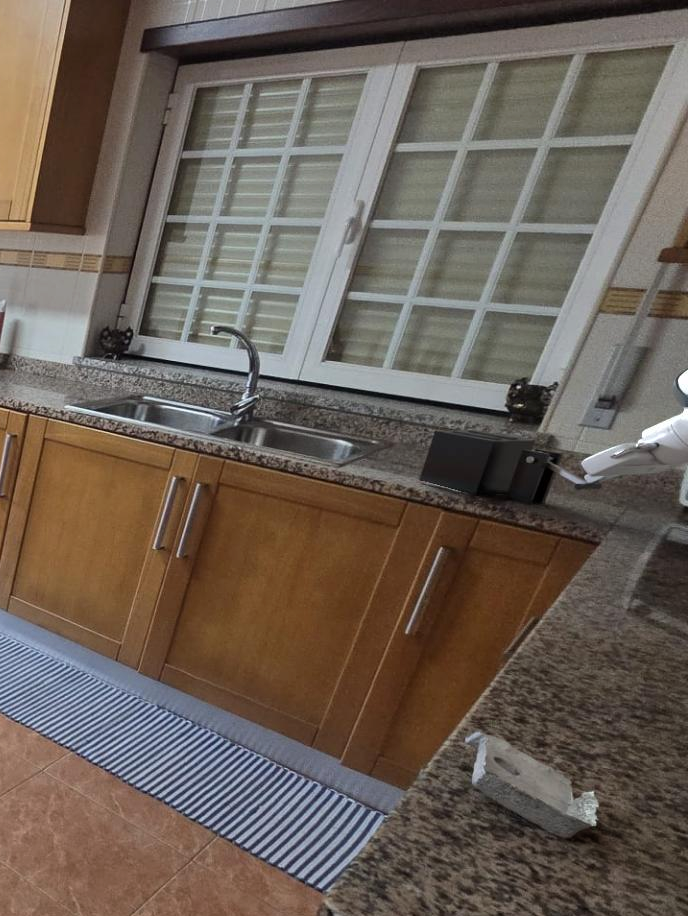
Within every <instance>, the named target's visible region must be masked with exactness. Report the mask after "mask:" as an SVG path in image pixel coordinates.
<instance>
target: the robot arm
mask: <svg viewBox="0 0 688 916" xmlns="http://www.w3.org/2000/svg"><path fill="white" fill-rule="evenodd" d="M672 394H673V397H674V399H675V400H676V402H677V403H678V404H679V405H680V406H681V407H682V408H683V412H681V413H680V414H677V415H674V416H672V417H670V418H668V419H666V420H663V421H660V422H659V423H657V424H654V425H653V426H650V427H648V428H646V429H644V430H643V431H642V434H641V439H638V441H637V442H625V443H621V444H618V445H615V446H613V447H610V448H608V449H606V450H603V451H600V452H598V453H595V454H594V455H593V454H592V455H591V456H589V457H586V458H585V459H583V460H582V461H581V462H580V465H581V467H582V468H583V469H584V471H585V472H586V474H585V475H584V477H583V478H584V480H585V481H587V482H588V483H602V482H604V481H607V480H610V479H613V478H618V477H620V476H628V475H629V476H630V475H631V476H633V475H649V474H659V473H663V472H665V471H669V470H672V469H675V468H682V467H684V466H687V465H688V367H686V369H684V370H683V371H682V372H680V373H679V374H678V375H677V376H676V378H675V379H674V381H673V384H672Z"/></svg>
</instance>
